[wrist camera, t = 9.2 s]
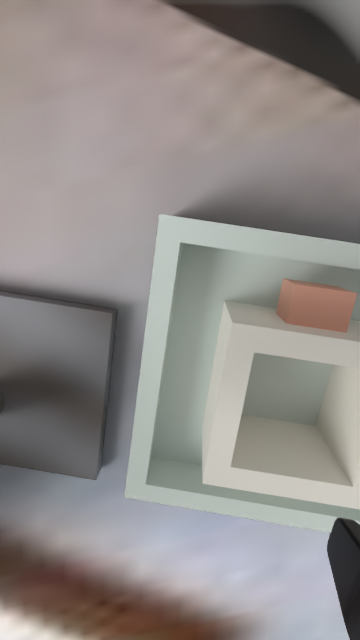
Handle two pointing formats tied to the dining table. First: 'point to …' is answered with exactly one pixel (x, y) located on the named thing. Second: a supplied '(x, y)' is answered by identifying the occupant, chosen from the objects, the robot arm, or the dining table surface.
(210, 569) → the dining table surface
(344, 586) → the robot arm
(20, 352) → the stand
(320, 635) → the dining table surface
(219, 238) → the tray
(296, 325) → the collar
